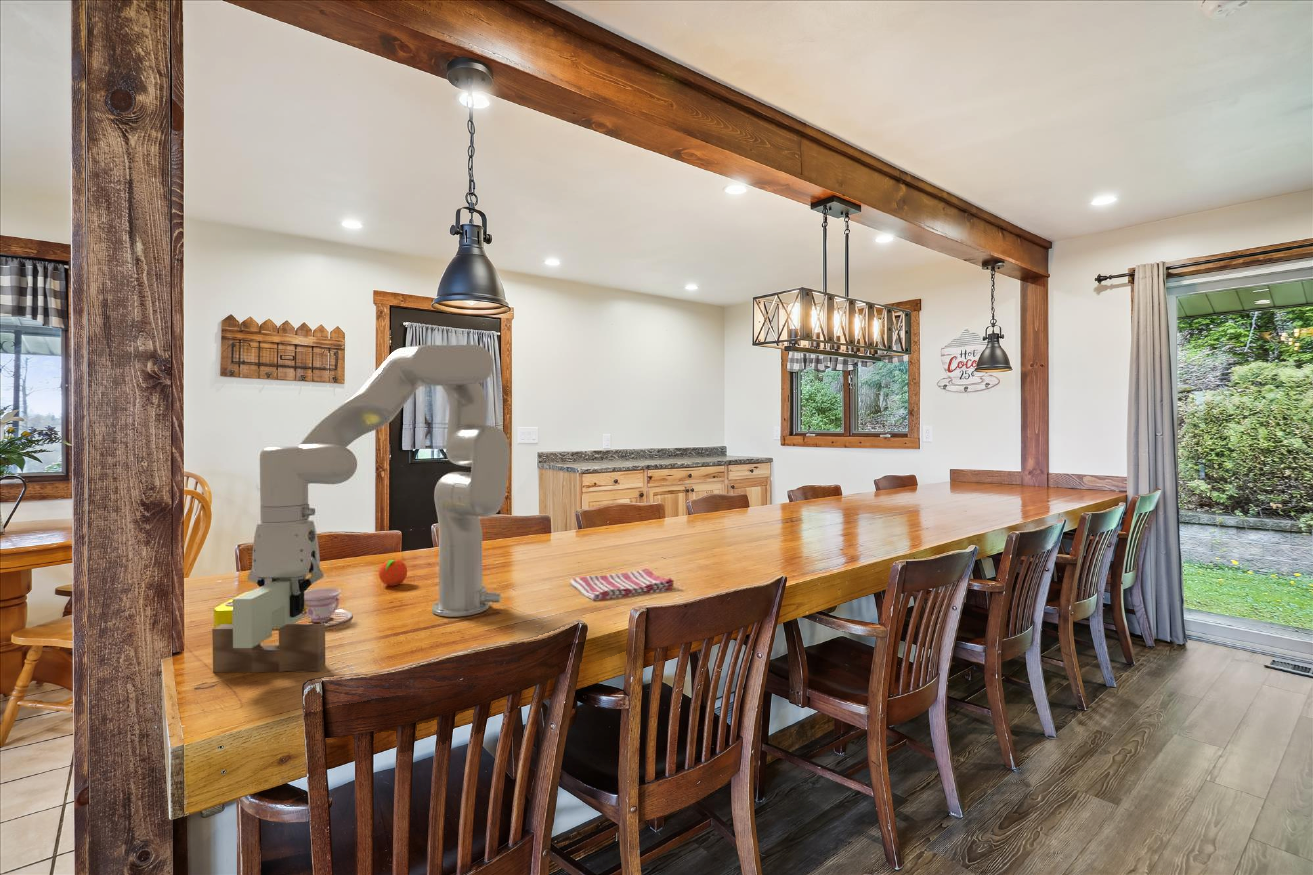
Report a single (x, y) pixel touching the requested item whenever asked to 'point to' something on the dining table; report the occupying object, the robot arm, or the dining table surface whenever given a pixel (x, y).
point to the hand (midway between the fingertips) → (286, 614)
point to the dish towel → (621, 584)
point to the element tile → (228, 613)
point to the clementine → (393, 572)
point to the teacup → (324, 605)
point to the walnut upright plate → (271, 650)
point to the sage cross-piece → (262, 613)
